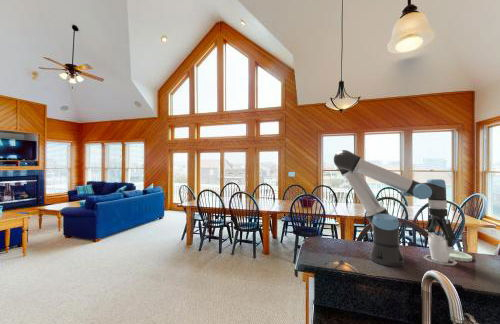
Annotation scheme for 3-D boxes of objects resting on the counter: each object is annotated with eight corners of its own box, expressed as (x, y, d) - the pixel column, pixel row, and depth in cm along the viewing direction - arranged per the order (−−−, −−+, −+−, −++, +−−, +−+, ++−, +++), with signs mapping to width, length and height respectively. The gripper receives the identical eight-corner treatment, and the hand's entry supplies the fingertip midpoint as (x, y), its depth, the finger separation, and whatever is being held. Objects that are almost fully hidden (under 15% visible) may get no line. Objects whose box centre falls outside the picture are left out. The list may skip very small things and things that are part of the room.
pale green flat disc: (449, 260, 115) (449, 257, 115) (434, 251, 128) (434, 248, 128) (479, 262, 112) (478, 259, 113) (460, 253, 125) (460, 250, 125)
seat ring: (433, 264, 110) (433, 262, 110) (419, 255, 122) (419, 254, 122) (462, 266, 107) (462, 265, 107) (445, 257, 119) (445, 255, 119)
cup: (432, 262, 112) (431, 238, 113) (426, 256, 121) (425, 234, 121) (454, 265, 109) (453, 240, 109) (446, 258, 117) (445, 236, 118)
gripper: (463, 212, 103) (466, 257, 102) (431, 204, 128) (433, 241, 126) (445, 211, 105) (448, 256, 103) (417, 204, 129) (419, 241, 128)
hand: (440, 248), depth 115 cm, fingers open, 13 cm apart
